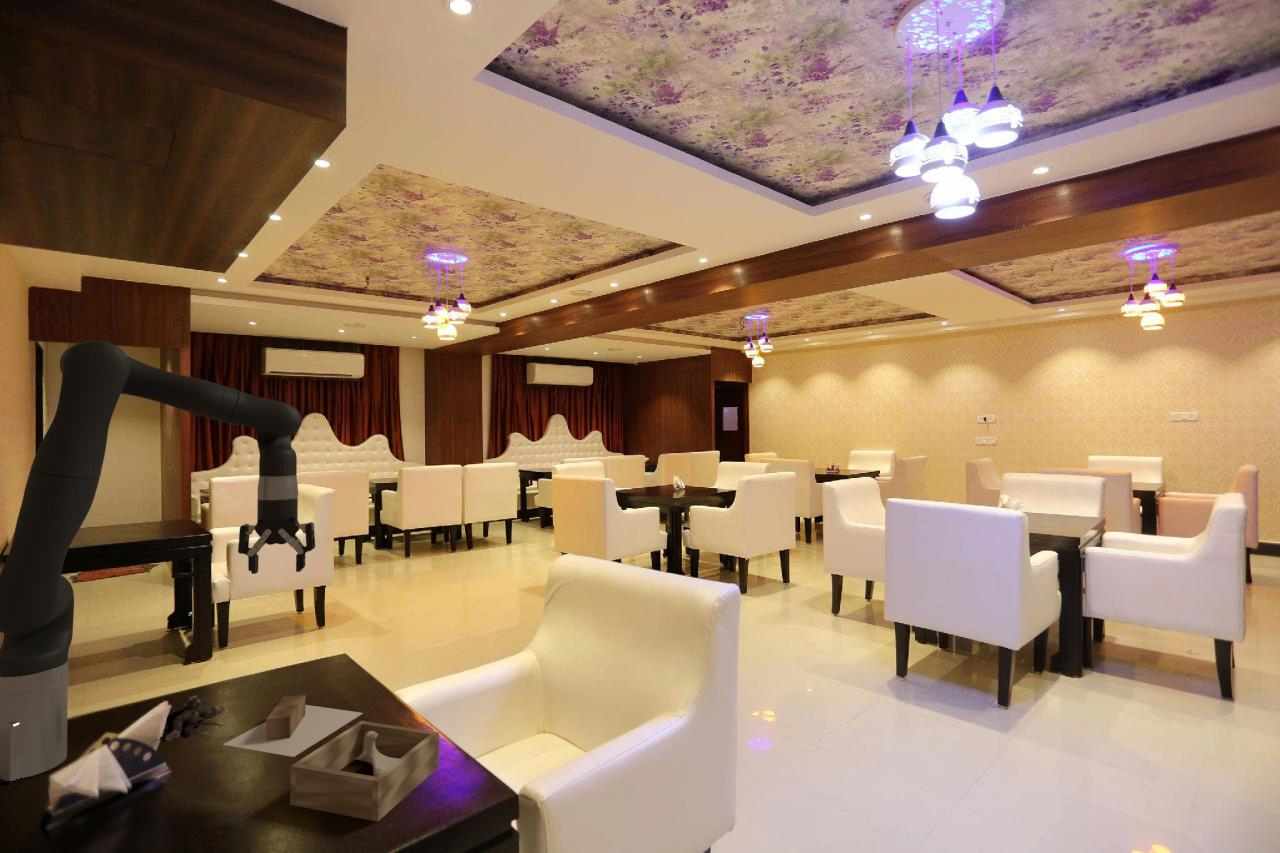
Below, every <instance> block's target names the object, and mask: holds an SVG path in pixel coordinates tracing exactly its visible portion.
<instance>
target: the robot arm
mask: <svg viewBox="0 0 1280 853" xmlns="http://www.w3.org/2000/svg"><path fill="white" fill-rule="evenodd" d="M59 369H60V372H61V374H62V376H61V385H60V390H59V391H60V392H59V395H58V403H57V407H56V411H55V414H54V417H53V419H52V421H51V423H50V425H49V427H48V429H47V431H46V433H45V435H44V436H43V439H42V440H41V443H40V445H39V447H38V449H37V451H36V454H35V455H34V456H35V457H33V461H32V464H31V465H30V466H31V467H30V470H29V473H28V477H27V481H26V483H25V488H24V491H23V496H22V499H21V500H22V501H21V505H20V509H19V512H18V516H17V520H16V523H15V527H14V533H13V536H12V542H11V546H10V549H9V552H8V555H7V557H6V560H5V563H4V565H3V567H2V570H1V571H0V633H2V634H3V639H2V644H1V646H0V778H1V779H3V780H6V781H14V780H16V779H18V780H21V779H20V778H22V779H26V778H29V777H33V776H36V775H40V774H42V773H45V772H47V771H49V770H52V769H54V768H56V767H58V766H59V765H61V764H62V763H64V762H65V761H66V759H67V758H68V699H69V698H68V696H69V695H68V691H69V689H68V688H69V687H68V686H69V685H68V683H69V682H68V681H69V678H68V677H69V650H70V646H71V644H72V640H73V632H74V631H73V630H74V616H75V615H74V613H75V593H74V589H73V586H72V584H71V583H70V581H69V580H68V579H67V578H66V577H65V576H64V575H62V572H63V566H64V564H65V559H66V556H67V553H68V550H69V548H70V546H71V544H72V542H73V541H74V539H75V537H76V536H77V533H78V532H79V530H80V529H81V527H82V525H83V523H84V521H85V520H86V518H87V516H88V514H89V513H90V510H91V509H92V508H91V507H92V504H93V502H94V501H95V497H96V493H97V489H98V486H99V482H100V478H101V474H102V470H103V464H104V461H105V460H104V459H105V455H106V450H107V444H108V434H109V429H110V424H111V421H112V417H113V414H114V412H115V409H116V408H117V407H116V406H117V404H118V401H119V399H120V396H121V394H123V395H129V396H133V397H137V398H142V399H147V400H150V401H153V402H156V403H161V404H163V405H168V406H170V407H173V408H176V409H179V410H182V411H184V412H185V411H186V412H187V413H191V414H194V415H197V416H200V417H204V418H207V419H211V420H213V421H214V420H215V421H217V422H221V423H226V424H230V425H236V426H244V427H249V428H251V429H255V434H256V441H257V447H258V452H259V460H258V461H259V462H258V465H259V466H258V482H257V505H256V507H257V508H256V511H257V512H256V513H257V515H256V517H257V521H256V524H255V525H254V524H249V523H244V524H243V525H242V524H241V525H240V526H239V531H238V532H239V533H238V534H239V535H238V548H237V553H238V554H240V555H246V556H247V557H248V560H247V561H248V562H247V565H248V567H247V568H248V571H249V572H251V574H252V575H255V574H258V573H259V556H260V555H259V552H260V550H261V549H262V548H264V546H265V545H266V544H267V545H269V546H271V545H276V544H277V545H285V544H288V545H289V546H290V548H293V550H294V551H295V552H296V553H297V554H296V555H295V571H296V573H300V572H301V571H303V569H305V567H306V553H308V552H312V550H314V549H315V548H316V537H315V523H314V522H313V521H310V522H307V523H306V522H305V523H300V522H299V520H298V519H299V518H298V516H299V515H298V514H299V511H298V505H299V503H298V501H299V497H298V496H299V485H298V484H299V482H298V477H297V473H298V472H297V471H298V468H297V466H298V460H297V459H298V458H297V457H298V456H297V453H296V450H294V448H293V447H292V437H291V435H293V434H295V433H296V432H298V431H299V430H300V428H301V426H302V422H303V419H302V416H301V413H300V412H299V410H298V409H297V408H296V407H294V406H293V405H290V404H288V403H285V402H282V401H279V400H275V399H270V398H266V397H261V396H256V395H252V394H249V393H246V392H244V391H242V390H238V389H235V388H231V387H229V386H225V385H222V384H219V383H215V382H212V381H209V380H205V379H200V378H196V377H192V376H188V375H184V374H179V373H174V372H171V371H168V370H164V369H162V368H158V367H155V366H152V365H149V364H146V363H145V362H141V361H139V360H136V359H135V358H132V357H130V356H128V355H127V354H126V353H125V352H124V350H123V349H121V347H119V346H117V345H115V344H114V343H112V342H109V341H105V340H99V339H90V340H84V341H80V342H77V343H75V344H72V345H70V347H67V349H65V350H64V352H63V354H62V355H61V356H60V361H59ZM299 530H301V532H302V533H303V534H305V544H306V545H304V544H303V543H302V542H301V539H300V538H299V537H298V536H297V533H298V532H299ZM253 532H255V533H256V534H257V535H258V537H259V538H258V539H257V541H255V543H254V544H253V546H252V547H249V544H250V536H251V535H252V534H253ZM25 777H26V778H25ZM6 781H5V782H6ZM16 781H17V780H16ZM14 782H15V781H14Z"/></svg>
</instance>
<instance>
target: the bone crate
mask: <svg viewBox="0 0 1280 853" xmlns="http://www.w3.org/2000/svg"><path fill="white" fill-rule="evenodd" d="M369 731H374V732H376V733H378V736H377V738H376V740H375V747H376V749H377V751H378V752H379V753H381V754H382V755H384V756H387V757H390V758H399V760H398V761H396V762H395V763H394V764H393V765H391V766H390V767H389V768H387V769H386V770H385V771H384V772H382V773H381V774H380V775H379V776H377V777H374V776H373V775H367V774H362V773H361V774H360V773H355V772H351V771H345V770H342V769H344V768H345V767H347V766H348V765H350V764H351V763H352V762H355V760H356V758H357V757H359V756H360V755H361V753H362V752H363V748H364V737H365V735H366V733H367V732H369ZM439 765H440V731H432V730H427V729H426V730H425V729H420V728H419V729H418V728H413V727H406V726H400V725H390V724H385V723H378V722H373V721H372V722H371V721H365V720H360V721H359V722H357V723H356V724H354V725H352V726H351V727H350V728H348V729H346V730H344V731H343V732H341V733H340V734H338V735H337V736H336V737H333V738H332V739H331V740H329V741H327V742H326V743H325V744H323V745H321V746H320V747H318V748H316V749H315V750H313V751H312V752H311V753H309V754H307V755H306V756H304V757H303V758H301V759H300V760H298V761H297V762H294V763H293V764H292V765H290V784H289V787H290V790H289V792H290V803H289V805H291V806H295V807H300V808H306V809H309V810H310V809H311V810H315V811H320V812H327V813H331V814H337V815H341V816H347V817H352V818H357V819H362V820H368V821H371V822H372V821H373V822H379V821H380V820H382V818H384V817H385V816H386V815H387V814H388V813H389V812H390V811H391V810H392V809H394V808H395V807H396V806H397V805H398V804H399V803H400V802H402V801H403V800H404V799H405V798H406V797H407V796H408V795H409V794H411V792H413V791H414V790H415V789H416V788H417V787H419V785H420V784H422V783H423V782H424V781H425V780H426V779H427V778H428V777H429V776H430V775H432V774H433V773H434V772H435V771H436V770H437V769H439V768H440V767H439Z"/></svg>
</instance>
